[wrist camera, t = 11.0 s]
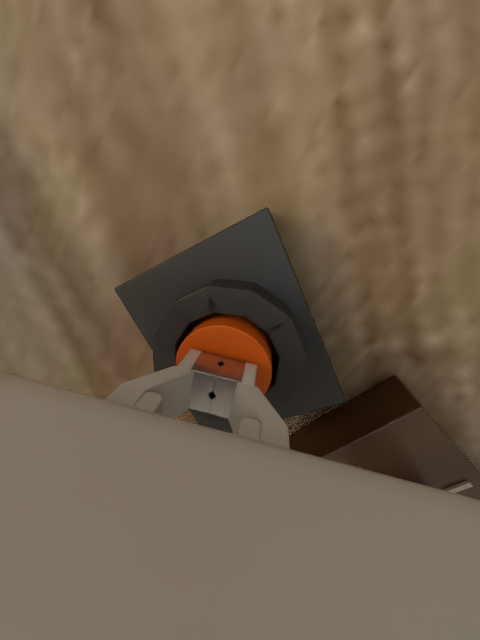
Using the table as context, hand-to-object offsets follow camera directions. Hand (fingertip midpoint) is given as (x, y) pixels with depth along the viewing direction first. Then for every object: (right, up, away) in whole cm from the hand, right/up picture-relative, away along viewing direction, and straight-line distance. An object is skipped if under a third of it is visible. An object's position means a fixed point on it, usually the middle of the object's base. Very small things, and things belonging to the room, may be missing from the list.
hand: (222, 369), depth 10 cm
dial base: (+11, -9, +7) cm, 16 cm away
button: (0, +1, +2) cm, 2 cm away
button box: (+1, +2, +5) cm, 5 cm away
